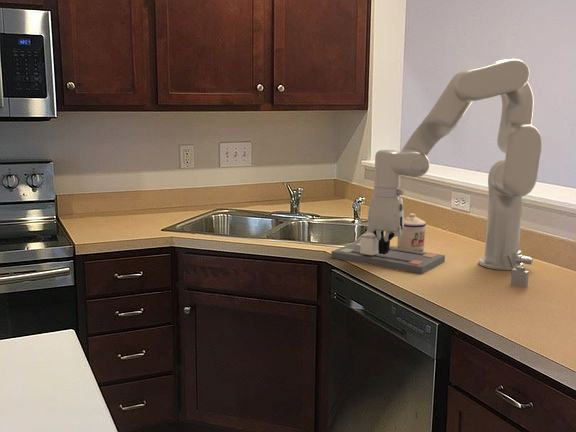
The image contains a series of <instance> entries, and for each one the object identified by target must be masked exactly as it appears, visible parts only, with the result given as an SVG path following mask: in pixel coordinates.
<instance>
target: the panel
mask: <svg viewBox="0 0 576 432" xmlns="http://www.w3.org/2000/svg"><path fill="white" fill-rule="evenodd" d="M360 247H361V241H355V242H352V243H350V244H348V245H345V246H343V247H340V248H337V249H334V250H331V252H330V253H331V254H330V255H331V256H330V257H331V258H332V259H337V260H340V261H341V260H343V261H348V262H353V263H359V264H365V265H371V266H376V267H381V268H387V269H393V270H397V269H398V271H402V270H404V272H408V271H409V273H413V272H414V273H415V274H419V275H423V274H425V273H427V272H428V271H431V270H432V269H434V268H436V267H438V266H440V265H441V264H443V263H445V261H446V255H445V254H440V253H439V254H438V253H434V252H433V253H431V252H426V251H415V250H408V249H402V248H398V247H397V246H396V247H394V246H390V250H389V251H388V253H387V254H379V250H378V253H377V254H374V255H367V254H361V253H360Z"/></svg>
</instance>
